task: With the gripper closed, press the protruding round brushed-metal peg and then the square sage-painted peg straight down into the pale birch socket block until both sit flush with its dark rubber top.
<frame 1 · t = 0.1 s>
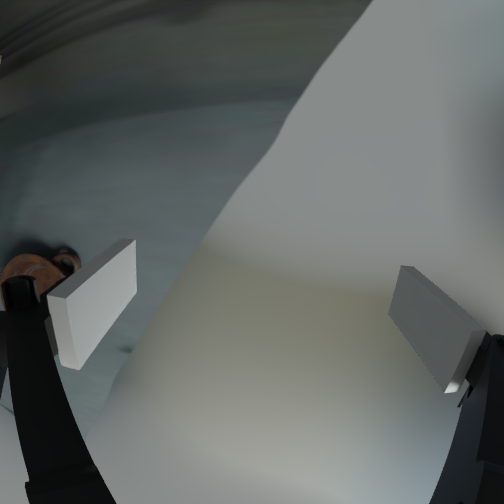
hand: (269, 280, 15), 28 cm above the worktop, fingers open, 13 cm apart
dish: (52, 294, 47), on the worktop
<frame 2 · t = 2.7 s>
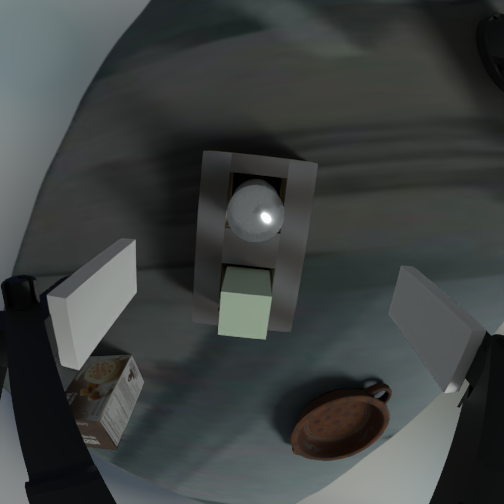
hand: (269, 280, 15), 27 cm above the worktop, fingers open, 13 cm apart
coffee box: (116, 368, 50), on the worktop
dish: (336, 413, 53), on the worktop
metal peg: (255, 207, 31), point 10 cm above the worktop, slide at 6.0 cm
socket block: (251, 232, 42), on the worktop
sage peg: (245, 300, 34), point 10 cm above the worktop, slide at 6.0 cm
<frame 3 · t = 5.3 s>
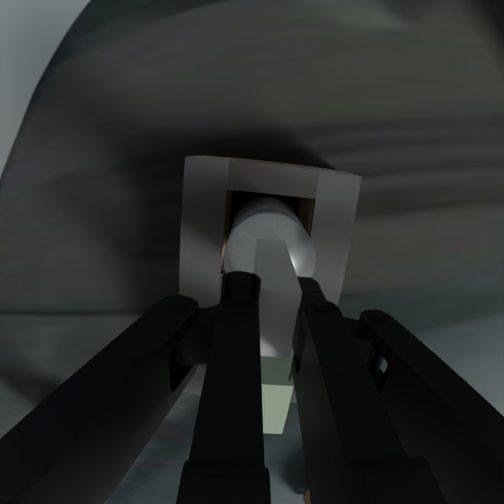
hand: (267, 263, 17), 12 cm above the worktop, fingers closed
metal peg: (267, 243, 21), point 9 cm above the worktop, slide at 4.8 cm, touching gripper
socket block: (258, 269, 31), on the worktop
sage peg: (251, 377, 23), point 10 cm above the worktop, slide at 6.0 cm
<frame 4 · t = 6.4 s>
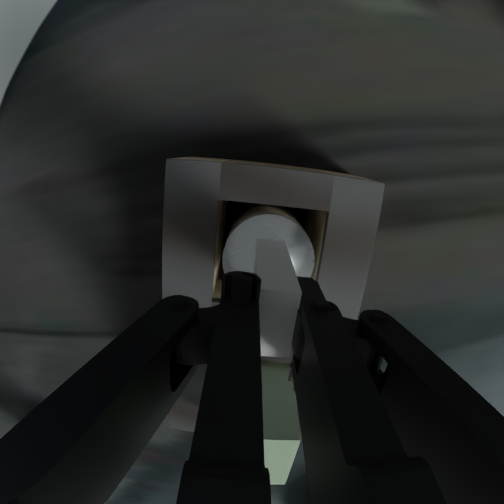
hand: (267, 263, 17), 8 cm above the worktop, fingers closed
metal peg: (266, 243, 21), point 4 cm above the worktop, slide at 0.3 cm, touching gripper
socket block: (257, 289, 26), on the worktop
sage peg: (250, 421, 18), point 10 cm above the worktop, slide at 6.0 cm
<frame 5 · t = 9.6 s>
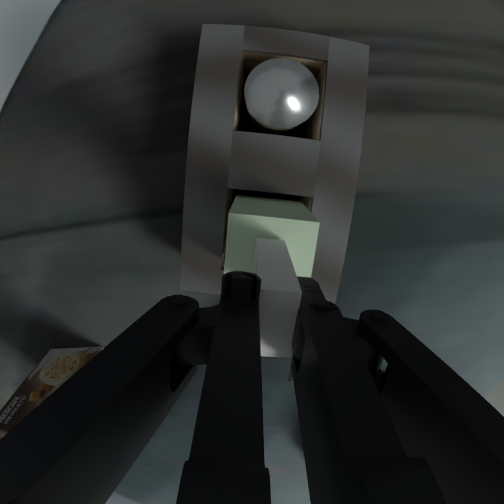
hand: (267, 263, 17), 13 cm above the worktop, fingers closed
coffee box: (86, 365, 36), on the worktop
metal peg: (278, 99, 23), point 4 cm above the worktop, slide at 0.3 cm
socket block: (269, 160, 28), on the worktop
sage peg: (267, 243, 21), point 9 cm above the worktop, slide at 5.5 cm, touching gripper
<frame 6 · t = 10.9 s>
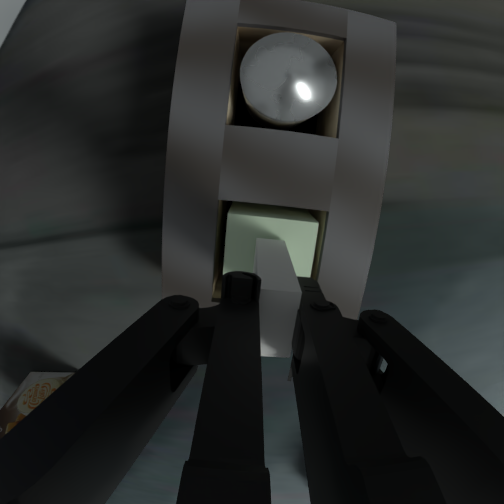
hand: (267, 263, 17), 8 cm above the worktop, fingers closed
coffee box: (68, 390, 31), on the worktop
metal peg: (283, 87, 18), point 4 cm above the worktop, slide at 0.3 cm
socket block: (271, 163, 23), on the worktop
sage peg: (266, 243, 21), point 4 cm above the worktop, slide at 0.3 cm, touching gripper
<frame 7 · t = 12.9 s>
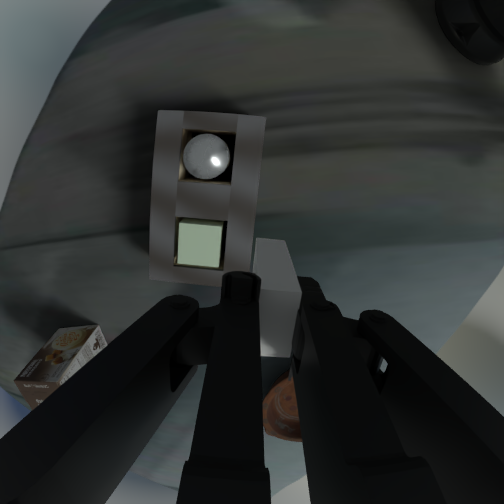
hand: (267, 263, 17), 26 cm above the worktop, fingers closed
coffee box: (85, 340, 49), on the worktop
dish: (308, 390, 53), on the worktop
metal peg: (209, 156, 37), point 4 cm above the worktop, slide at 0.3 cm
socket block: (209, 193, 42), on the worktop
sage peg: (202, 237, 40), point 4 cm above the worktop, slide at 0.3 cm
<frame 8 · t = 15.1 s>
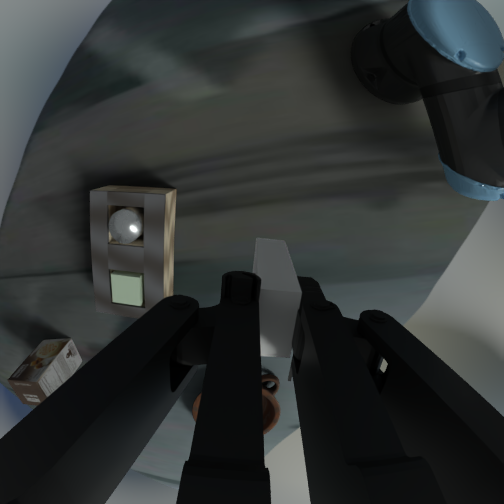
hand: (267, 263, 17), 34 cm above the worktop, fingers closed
coffee box: (63, 349, 61), on the worktop
dish: (236, 398, 63), on the worktop
metal peg: (132, 221, 48), point 4 cm above the worktop, slide at 0.3 cm
socket block: (140, 245, 53), on the worktop
sage peg: (132, 281, 51), point 4 cm above the worktop, slide at 0.3 cm
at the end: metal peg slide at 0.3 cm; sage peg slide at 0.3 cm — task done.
